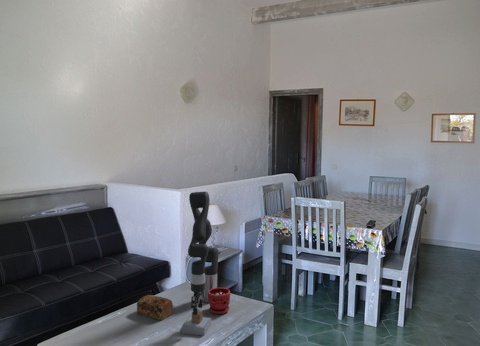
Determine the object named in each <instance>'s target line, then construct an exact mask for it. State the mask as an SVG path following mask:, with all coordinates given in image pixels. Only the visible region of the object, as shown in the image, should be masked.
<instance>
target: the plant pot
mask: <svg viewBox="0 0 480 346" xmlns="http://www.w3.org/2000/svg"><path fill="white" fill-rule="evenodd" d="M216 293H217V295H215V294H216ZM208 301H209V302H208V304H209V311H210V312H211V313H212V314H217V315H219V314H220V315H221V314H225V313H227V312H228V311H229V310H230V306H229V305H230V301H231V291H230V289H228V288H225V287H217V288H213V289H211V290H209V291H208Z"/></svg>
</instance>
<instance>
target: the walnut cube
mask: <svg viewBox="0 0 480 346" xmlns="http://www.w3.org/2000/svg"><path fill="white" fill-rule="evenodd" d="M203 313H204V312H203V310H198V309H197V315H193V311H192V312H191V316H192V323H199V324H200V323H201V321H202V317H203Z"/></svg>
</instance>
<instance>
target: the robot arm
mask: <svg viewBox="0 0 480 346" xmlns="http://www.w3.org/2000/svg"><path fill="white" fill-rule="evenodd" d="M188 200H189V206H190V209H191V212H192V215H193V220H194V222H193V225H192V235H191V240H190V244H189V246H188V249H187V254H188V256H189V257H190V258H193V259H194V258H200V259H198V260H194V261H192V263H191V266H190V267H191V275H190V291H191V292H193V295H192V296H191V300H190V301H191V302H190V304H191V305H190V307H191V309H192V312H193V315H197V310H198V308H199V309H202V308H203V302H205V303H209V301H208V291H209V290H211V289H213V288H218V268H219V265H218V264H219V249H218V247H217V248H216V247H209V246H208V245H207V242H208V241H209V240H210V238H211V237H212V233H213V229H212V224H211V222H210V219H208V214H209V208H210V194H209V192H208V191H194V192H190V194H189V199H188ZM200 209H202V210H201V211H200ZM206 263H211V264H210V265H207V266H206ZM215 295H218V293H216V294H215Z"/></svg>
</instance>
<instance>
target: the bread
mask: <svg viewBox="0 0 480 346" xmlns="http://www.w3.org/2000/svg"><path fill="white" fill-rule="evenodd" d="M173 309H174V304H173V301H172V300H171V299H169V298H166V297H162V296H158V295H151V294H147V295H144V296H142V297H141V298H140V299H139V300H138V301H137V303H136V312H137V314H138V315H141V316H144V317H147V318H150V319H151V318H152V319H154V320H158V321H163V320H165V319H167V318H169V317H171V316H172V314H173Z"/></svg>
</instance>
